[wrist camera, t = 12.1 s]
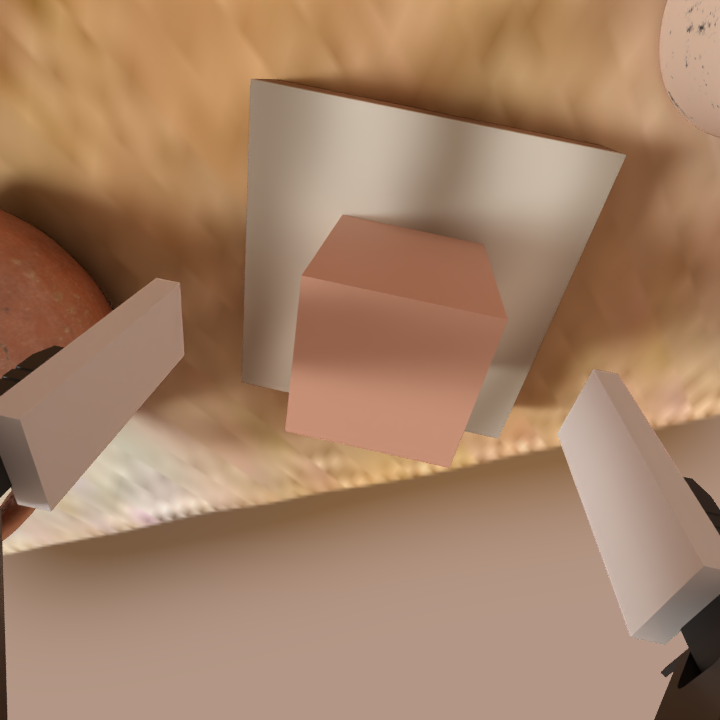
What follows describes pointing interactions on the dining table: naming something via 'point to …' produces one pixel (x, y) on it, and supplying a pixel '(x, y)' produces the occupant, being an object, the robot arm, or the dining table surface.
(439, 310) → the block
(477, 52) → the dining table surface
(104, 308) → the ceramic jug
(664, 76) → the teacup with lid
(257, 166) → the plinth
